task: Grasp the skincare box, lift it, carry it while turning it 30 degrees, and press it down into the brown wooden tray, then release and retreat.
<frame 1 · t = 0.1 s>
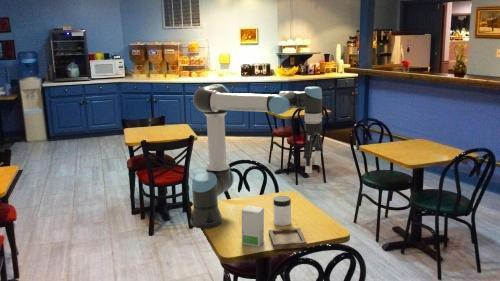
hand: (313, 168, 210), 28 cm above the table, fingers open, 13 cm apart
jar: (282, 222, 222), on the table
skincare box: (253, 242, 201), on the table
brown wooden tray: (287, 240, 202), on the table
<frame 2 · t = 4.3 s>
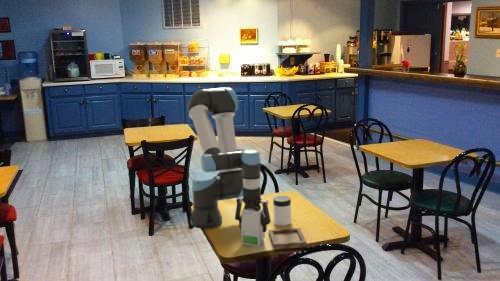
hand: (253, 236, 201), 3 cm above the table, fingers closed on skincare box, 8 cm apart
skincare box: (253, 242, 201), on the table, touching gripper
everything else where it was.
when the fingers open (4 cm above the table, at t = 9.8 s): skincare box stays where it is, resting on brown wooden tray.
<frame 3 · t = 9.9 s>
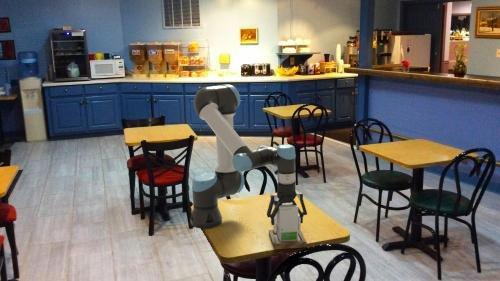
hand: (287, 230, 201), 4 cm above the table, fingers open, 10 cm apart
skincare box: (287, 238, 202), point 1 cm above the table, touching brown wooden tray
everything else where it was.
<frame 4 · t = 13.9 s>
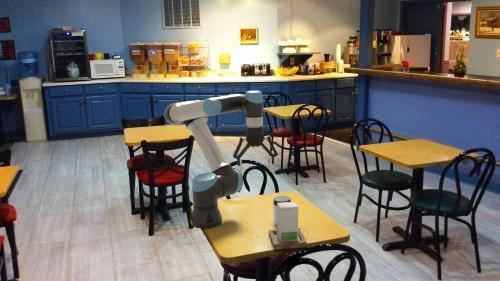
hand: (255, 171, 212), 27 cm above the table, fingers open, 13 cm apart
nothing on the table moved.
at the end: skincare box 0.2 cm off-centre on the brown wooden tray, point 0.8 cm above the brown wooden tray's base; skincare box tilted 0°; the gripper is holding nothing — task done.
